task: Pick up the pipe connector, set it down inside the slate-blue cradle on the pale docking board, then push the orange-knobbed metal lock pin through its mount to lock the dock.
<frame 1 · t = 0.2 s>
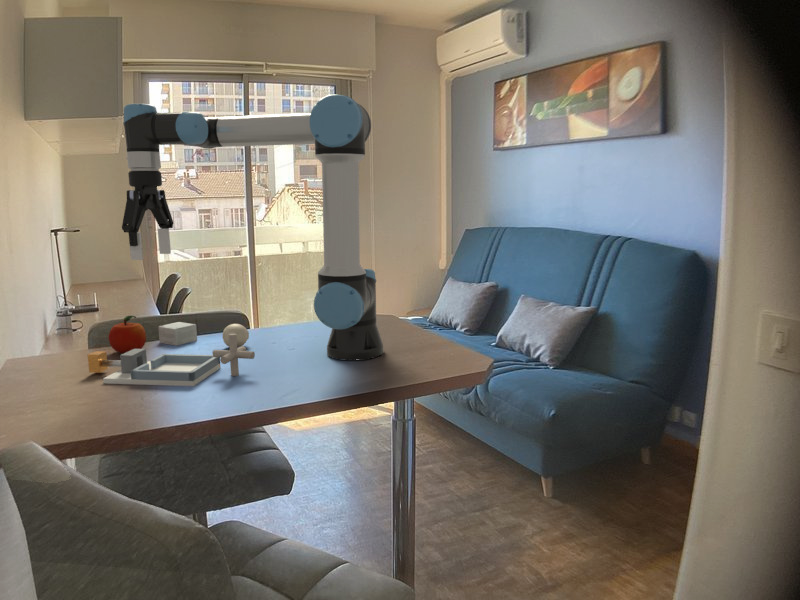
hand: (151, 256, 158), 28 cm above the table, fingers open, 13 cm apart
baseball: (236, 347, 179), on the table
small box: (178, 342, 186), on the table
fruit: (128, 352, 175), on the table
dock: (164, 375, 152), on the table
pipe connector: (235, 375, 152), on the table
lock pin: (113, 362, 153), point 3 cm above the table, slide at 0.0 cm
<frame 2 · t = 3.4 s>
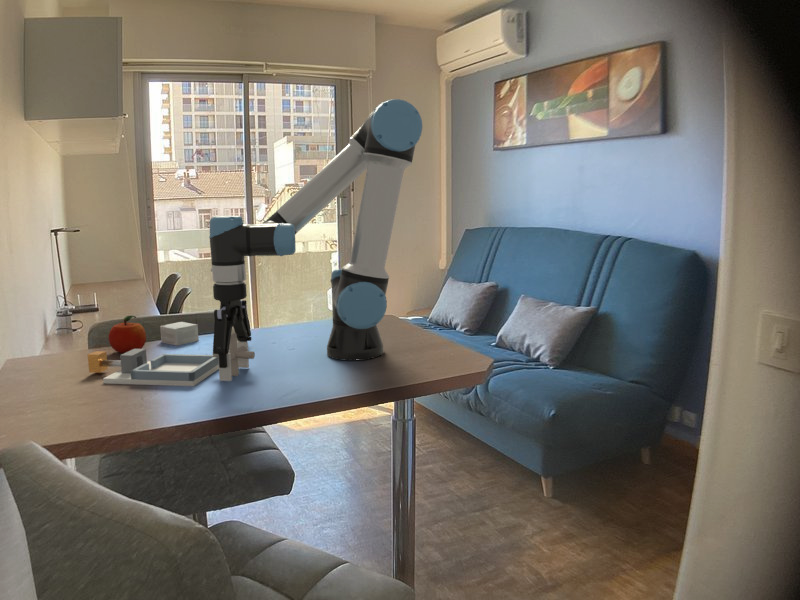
hand: (234, 373, 152), 0 cm above the table, fingers closed on pipe connector, 10 cm apart
pipe connector: (235, 375, 152), on the table, touching gripper
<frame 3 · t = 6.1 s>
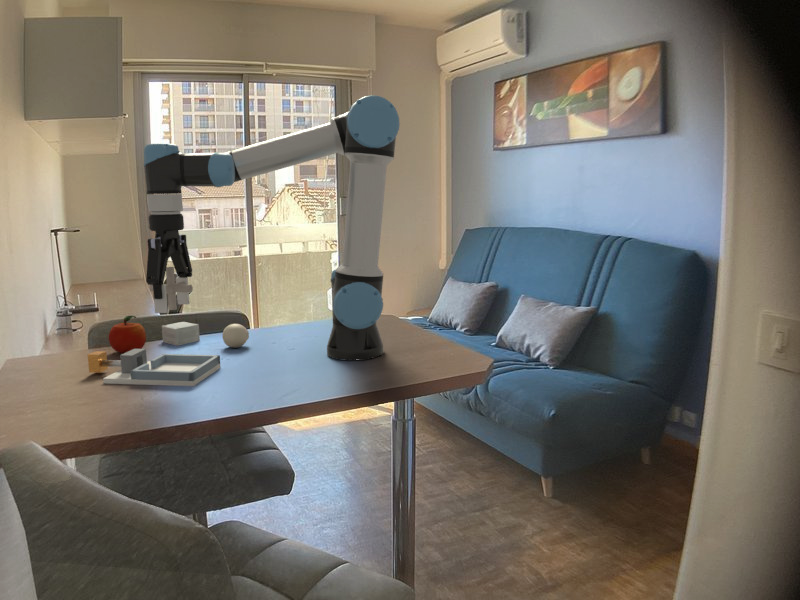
hand: (172, 308, 149), 16 cm above the table, fingers closed on pipe connector, 10 cm apart
pipe connector: (173, 310, 149), point 16 cm above the table, touching gripper
when the fingers open (4 cm above the table, at t = 8.8 s): pipe connector drops 2 cm, resting on dock.
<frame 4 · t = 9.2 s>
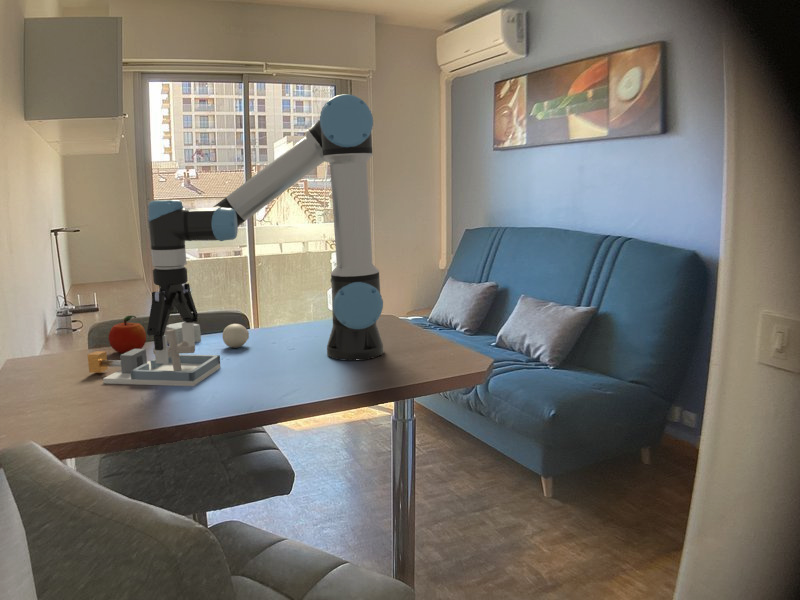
hand: (176, 355, 151), 5 cm above the table, fingers open, 13 cm apart
pipe connector: (177, 371, 152), point 1 cm above the table, touching dock
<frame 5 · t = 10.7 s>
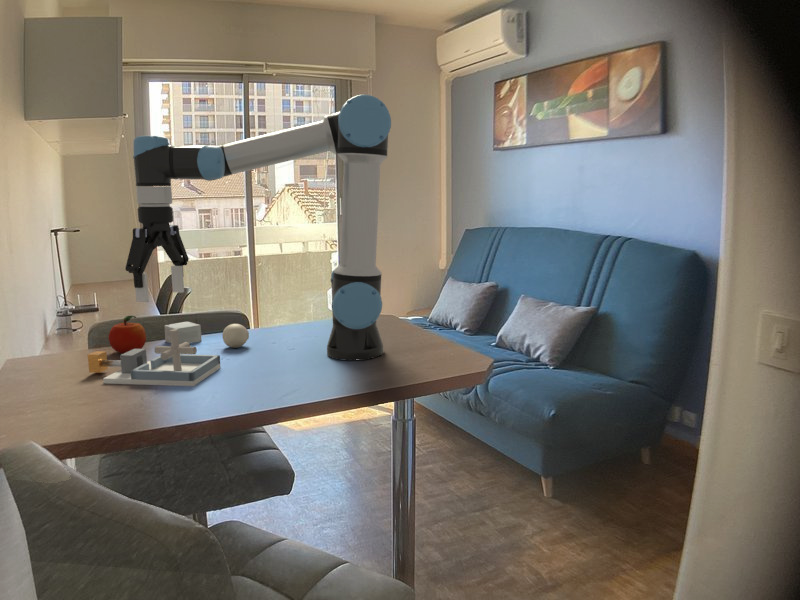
hand: (161, 296, 149), 19 cm above the table, fingers open, 13 cm apart
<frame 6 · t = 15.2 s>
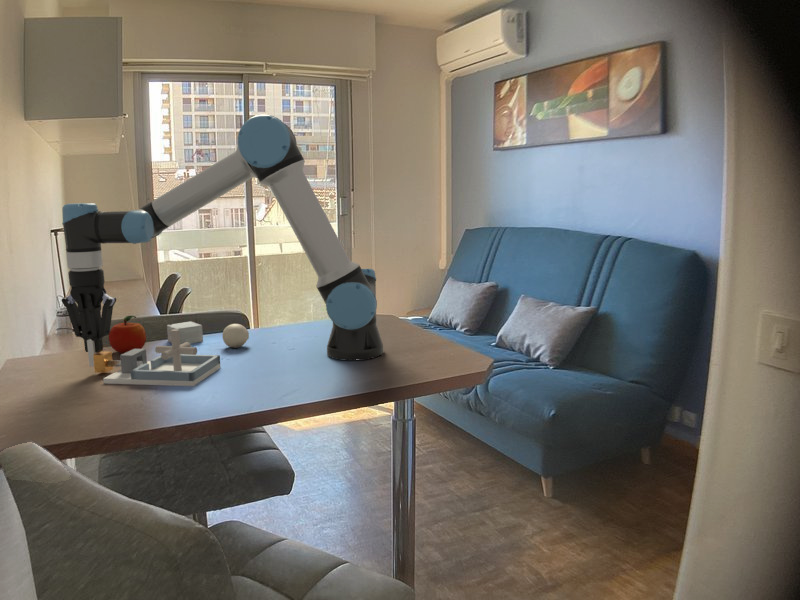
hand: (95, 364, 154), 2 cm above the table, fingers closed
lock pin: (119, 362, 153), point 3 cm above the table, slide at 1.5 cm, touching gripper
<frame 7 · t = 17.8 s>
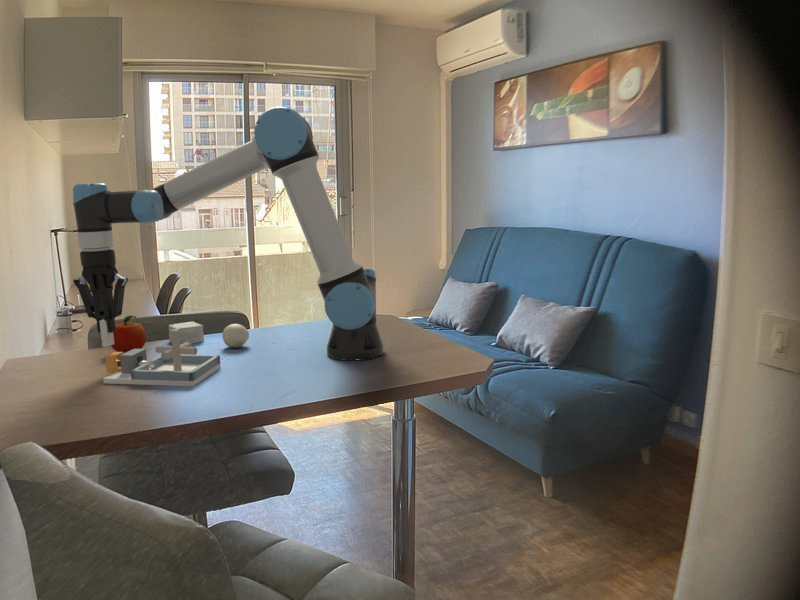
hand: (108, 345, 155), 7 cm above the table, fingers closed
lock pin: (131, 362, 153), point 3 cm above the table, slide at 4.6 cm, touching dock
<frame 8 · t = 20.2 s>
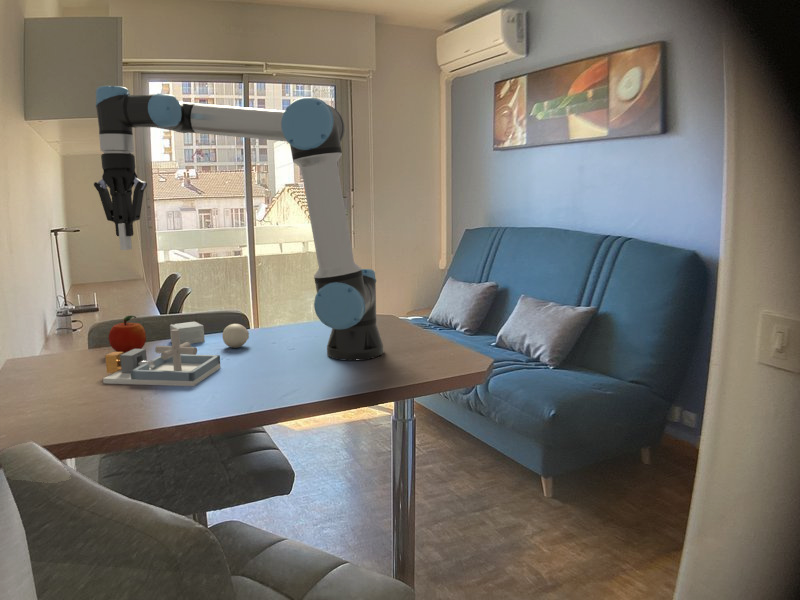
hand: (126, 249, 158), 29 cm above the table, fingers closed
at the end: pipe connector inside the target area on the dock (0.0 cm from its centre), point 1.0 cm above the dock's base; lock pin slide at 4.6 cm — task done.
